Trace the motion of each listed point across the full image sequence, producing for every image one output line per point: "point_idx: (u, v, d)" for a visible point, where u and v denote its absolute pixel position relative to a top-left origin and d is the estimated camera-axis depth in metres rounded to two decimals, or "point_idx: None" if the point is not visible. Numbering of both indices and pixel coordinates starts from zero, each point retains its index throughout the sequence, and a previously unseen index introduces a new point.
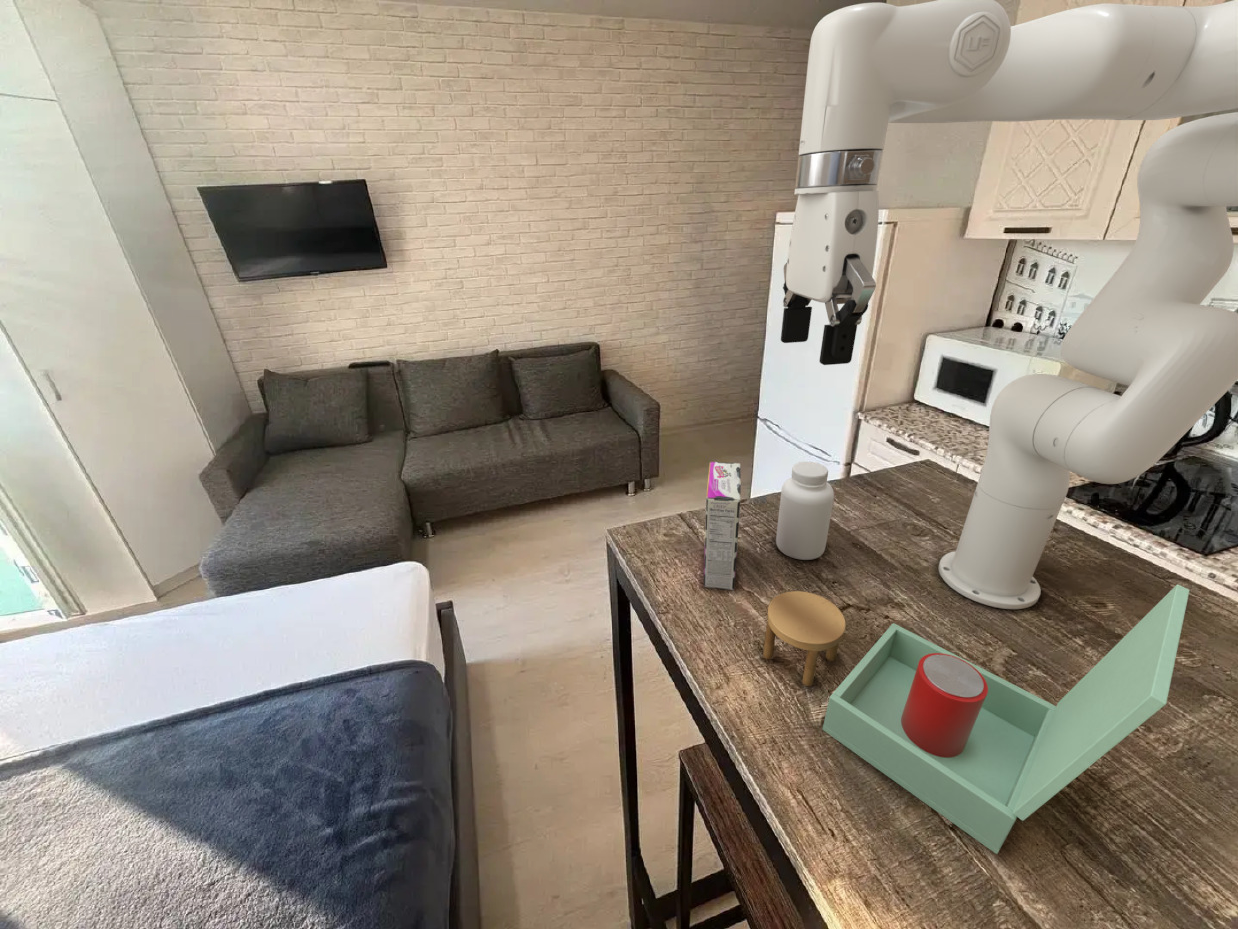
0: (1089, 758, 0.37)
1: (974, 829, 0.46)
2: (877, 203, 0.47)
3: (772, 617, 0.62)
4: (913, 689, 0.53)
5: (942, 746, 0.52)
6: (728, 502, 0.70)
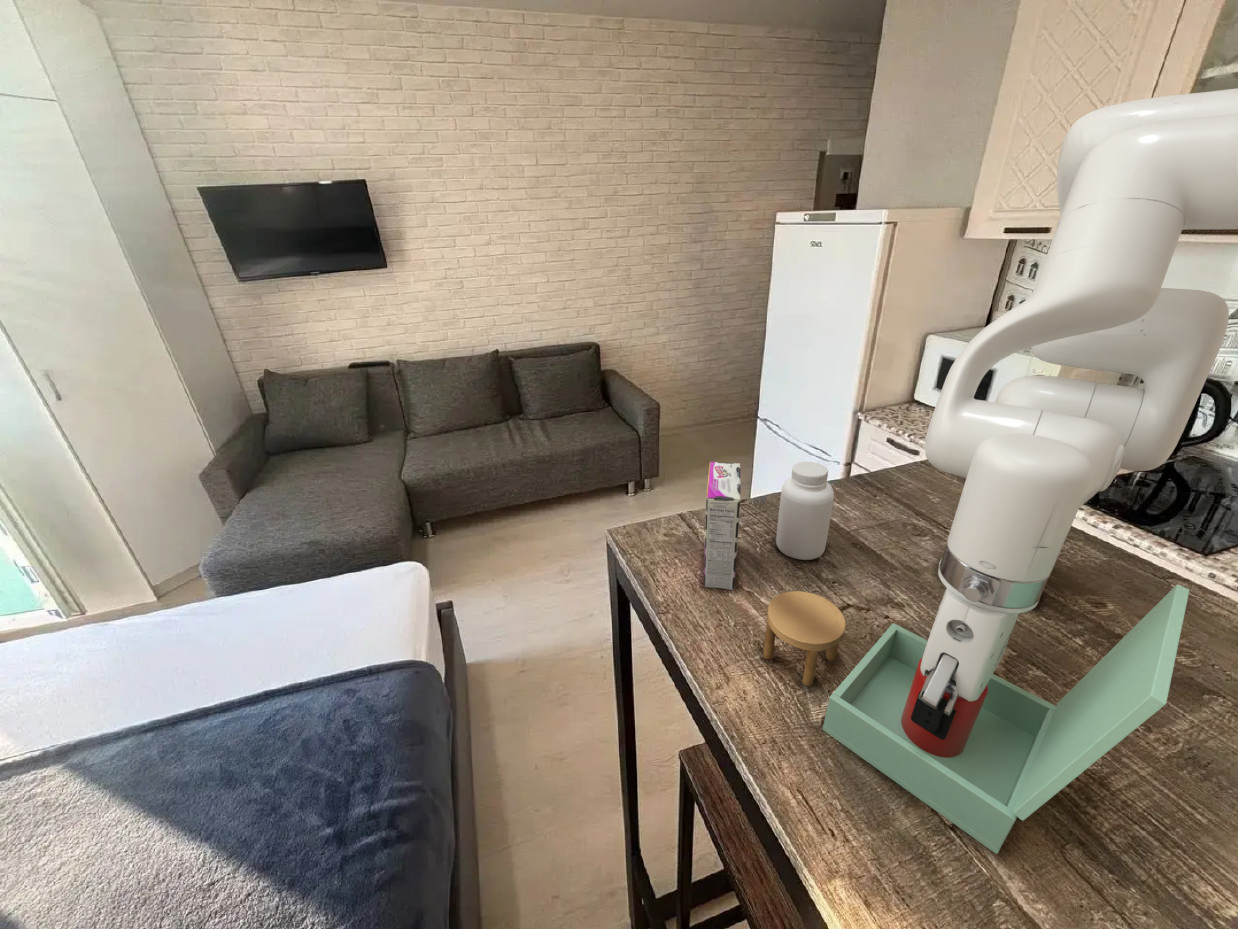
0: (1089, 758, 0.37)
1: (974, 829, 0.46)
2: (993, 629, 0.42)
3: (772, 617, 0.62)
4: (913, 689, 0.53)
5: (942, 746, 0.52)
6: (728, 502, 0.70)
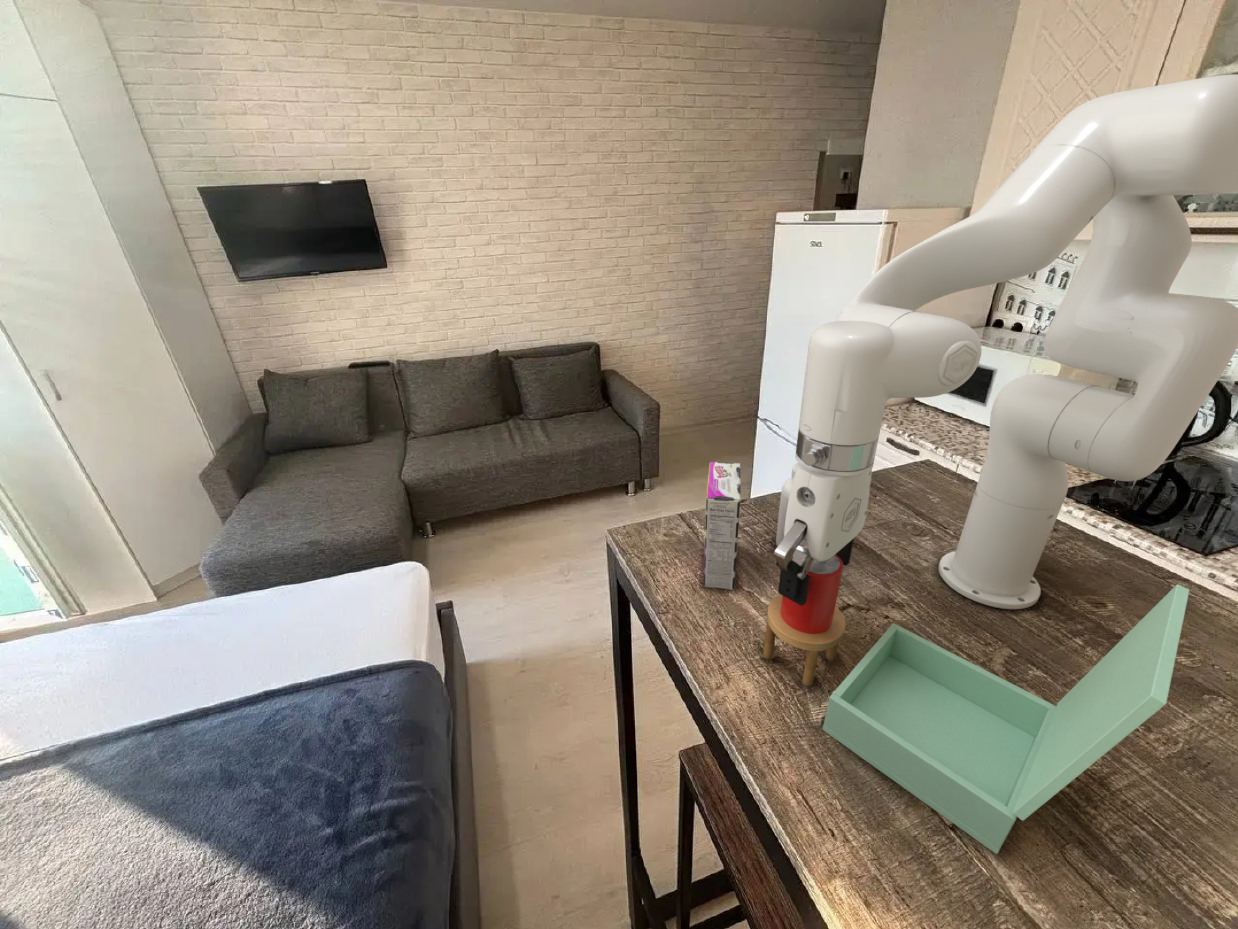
0: (1089, 758, 0.37)
1: (974, 829, 0.46)
2: (829, 490, 0.49)
3: (772, 617, 0.62)
4: None
5: (807, 623, 0.59)
6: (728, 502, 0.70)
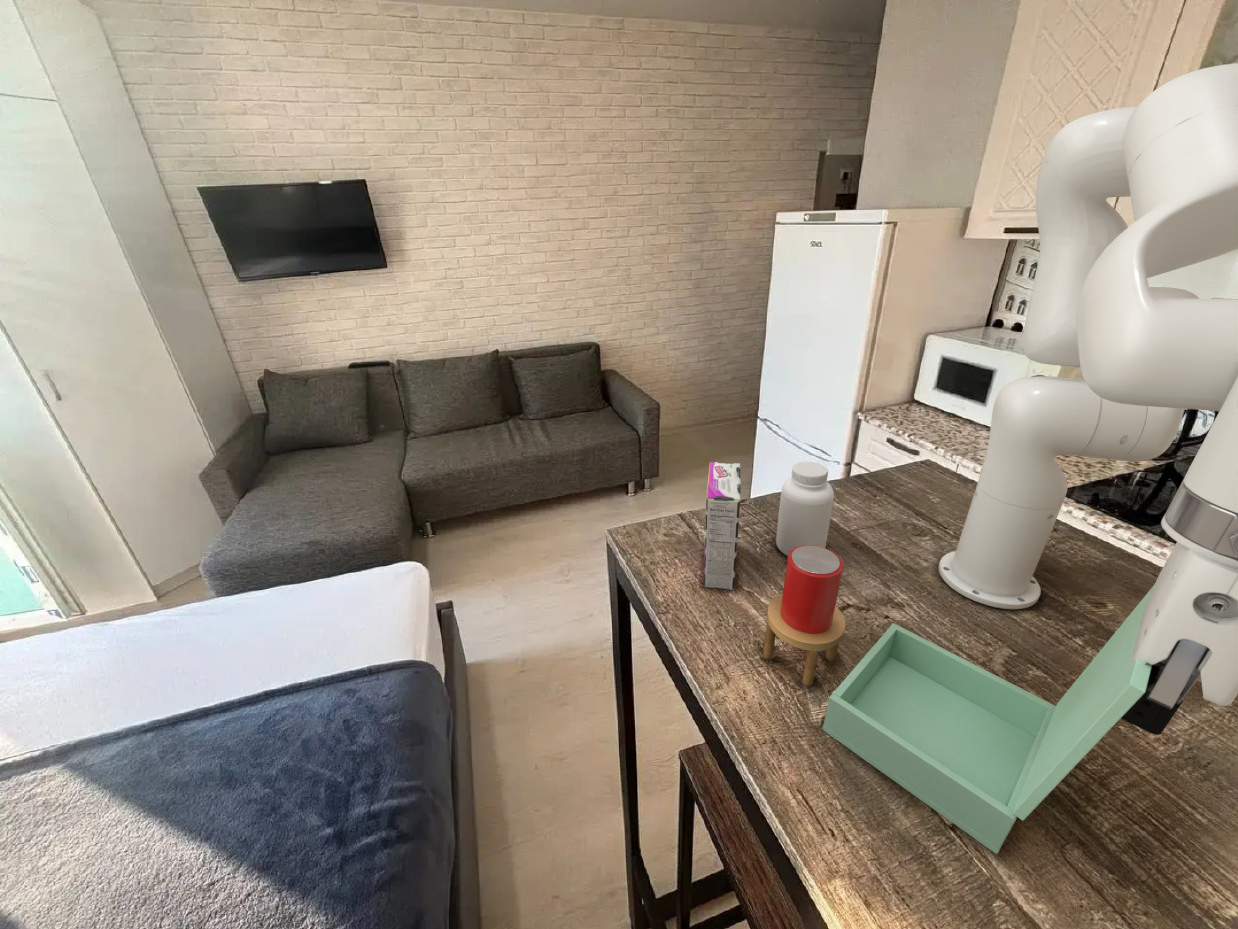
0: (1079, 752, 0.37)
1: (974, 829, 0.46)
2: None
3: (772, 617, 0.62)
4: (785, 575, 0.60)
5: (807, 623, 0.59)
6: (728, 502, 0.70)
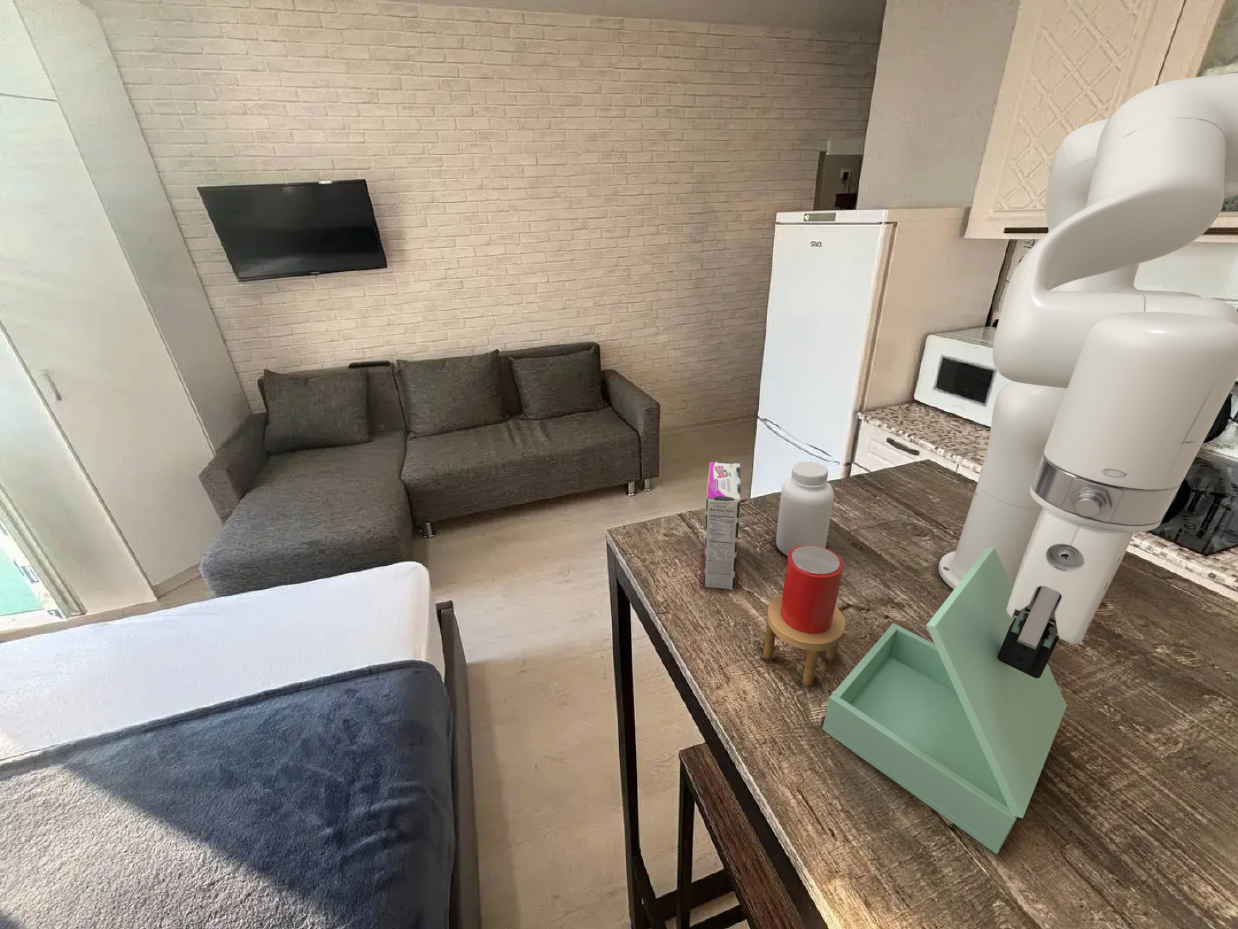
0: (968, 707, 0.43)
1: (974, 829, 0.46)
2: (1110, 551, 0.35)
3: (772, 617, 0.62)
4: (785, 575, 0.60)
5: (807, 623, 0.59)
6: (728, 502, 0.70)
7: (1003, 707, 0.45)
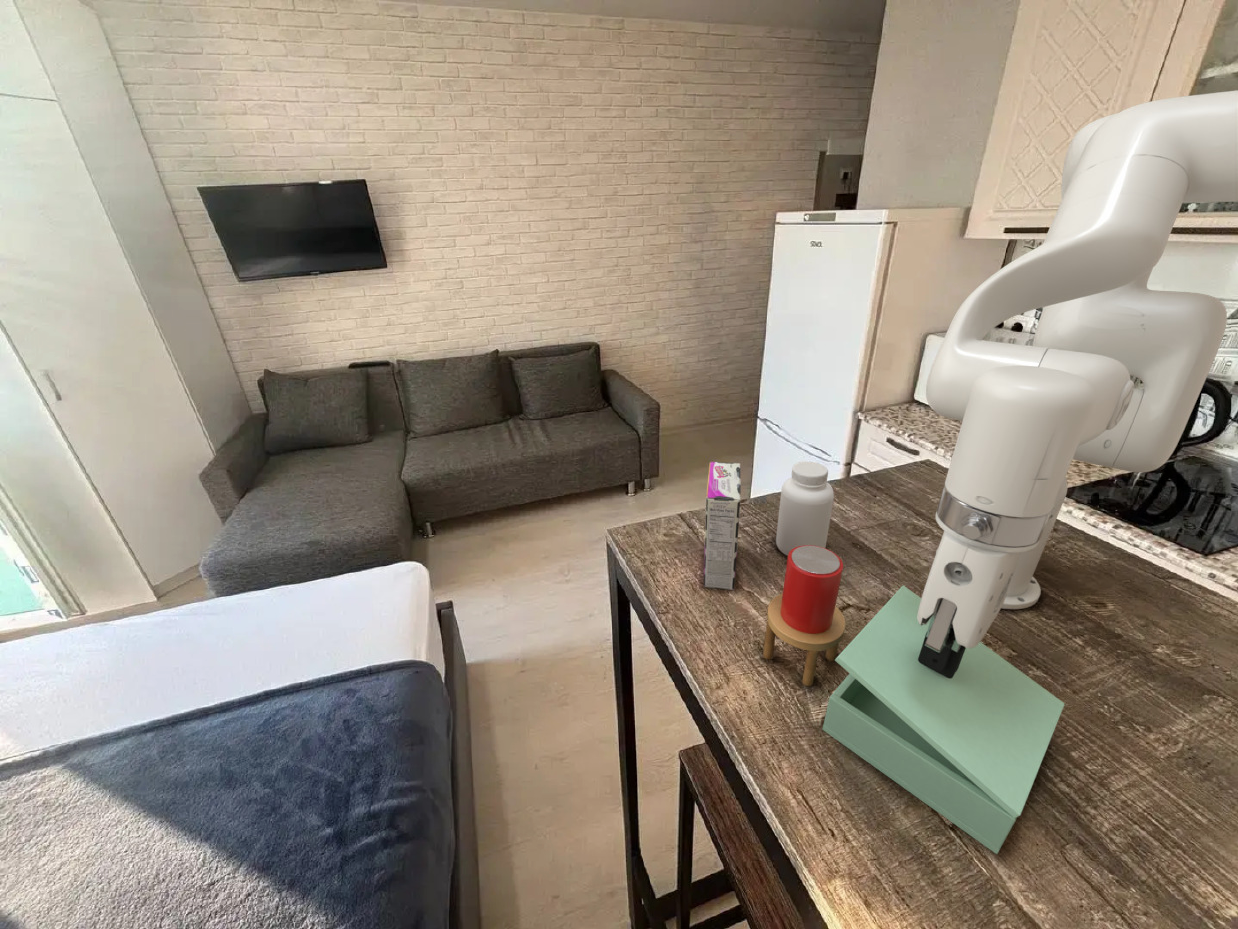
0: (905, 719, 0.48)
1: (974, 829, 0.46)
2: (992, 569, 0.41)
3: (772, 617, 0.62)
4: (785, 575, 0.60)
5: (807, 623, 0.59)
6: (728, 502, 0.70)
7: (954, 713, 0.48)
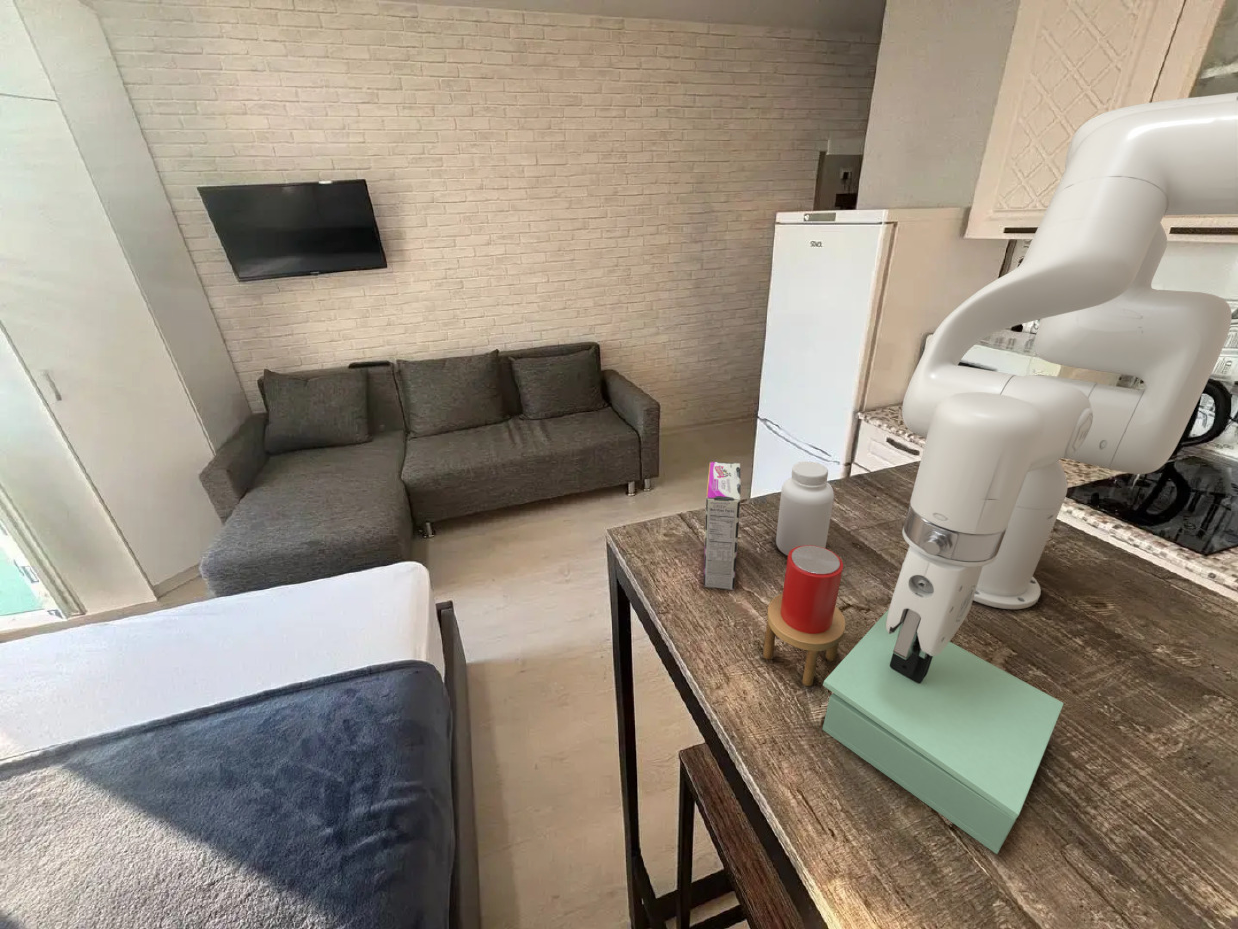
0: (895, 733, 0.49)
1: (974, 829, 0.46)
2: (952, 582, 0.44)
3: (772, 617, 0.62)
4: (785, 575, 0.60)
5: (807, 623, 0.59)
6: (728, 502, 0.70)
7: (945, 722, 0.50)
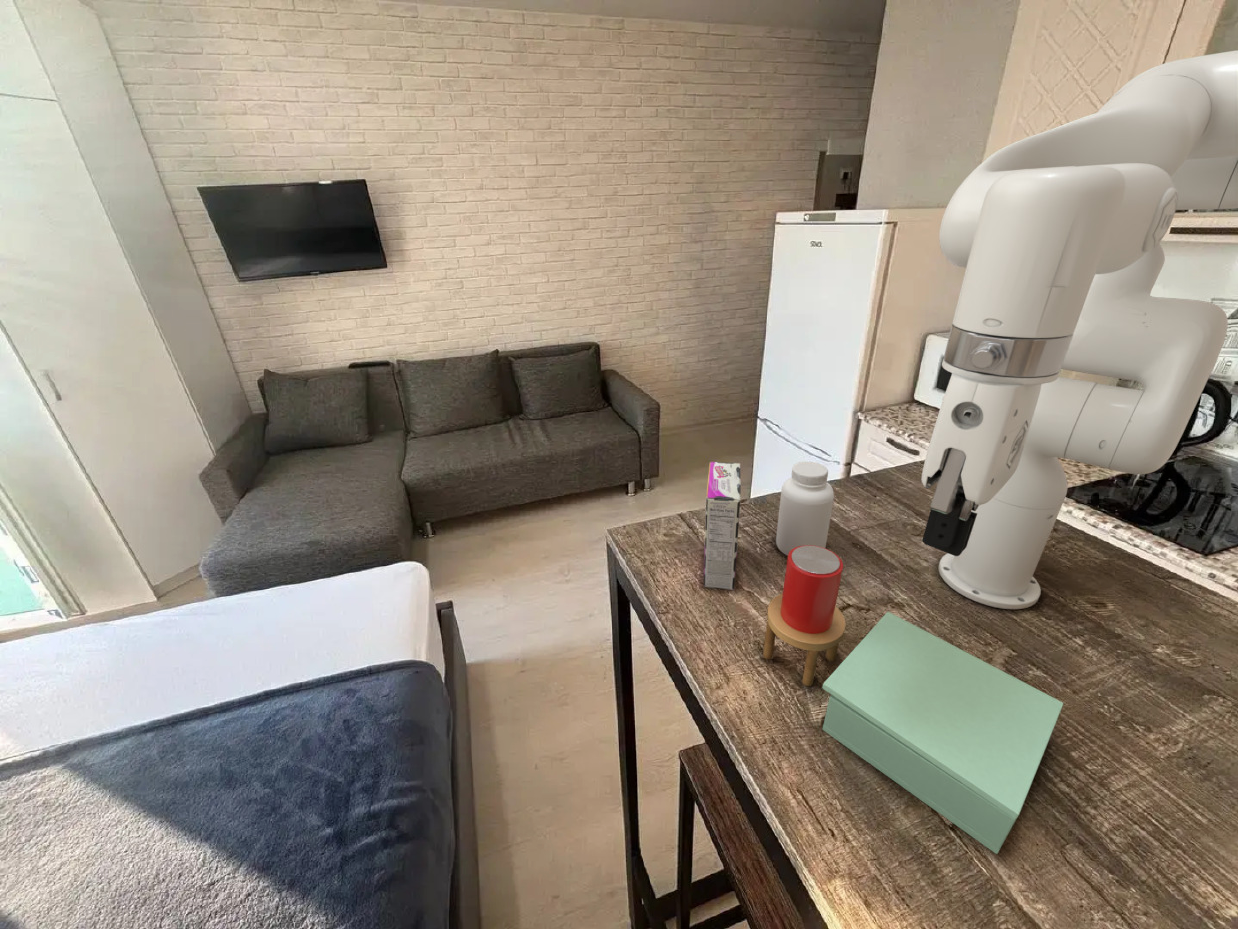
0: (895, 734, 0.49)
1: (974, 829, 0.46)
2: (1006, 402, 0.36)
3: (772, 617, 0.62)
4: (785, 575, 0.60)
5: (807, 623, 0.59)
6: (728, 502, 0.70)
7: (945, 723, 0.50)
